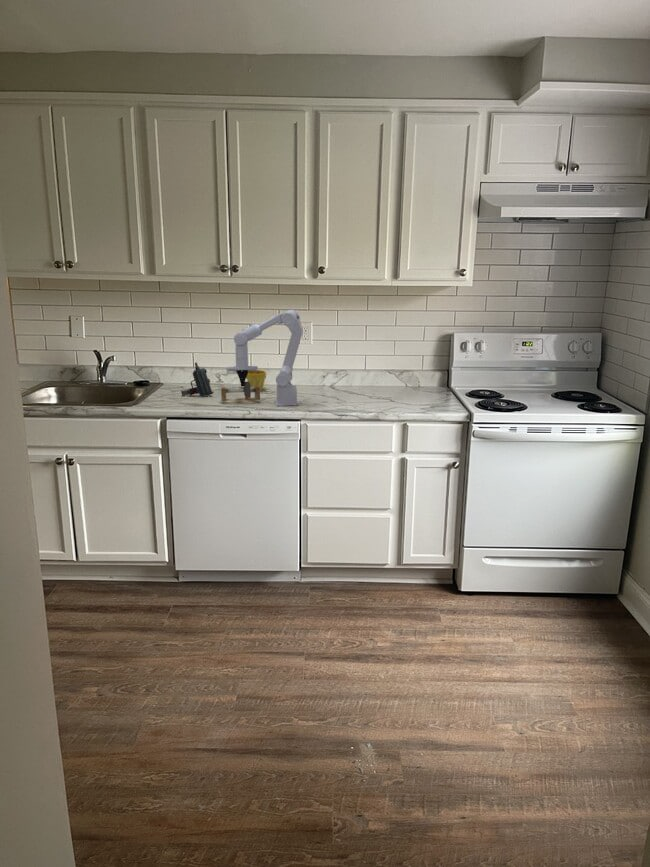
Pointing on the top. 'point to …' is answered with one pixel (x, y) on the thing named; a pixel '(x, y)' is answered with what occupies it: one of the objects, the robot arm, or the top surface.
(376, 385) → the top surface
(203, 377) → the gun
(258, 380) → the plant pot
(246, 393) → the collar
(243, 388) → the pipe stand
